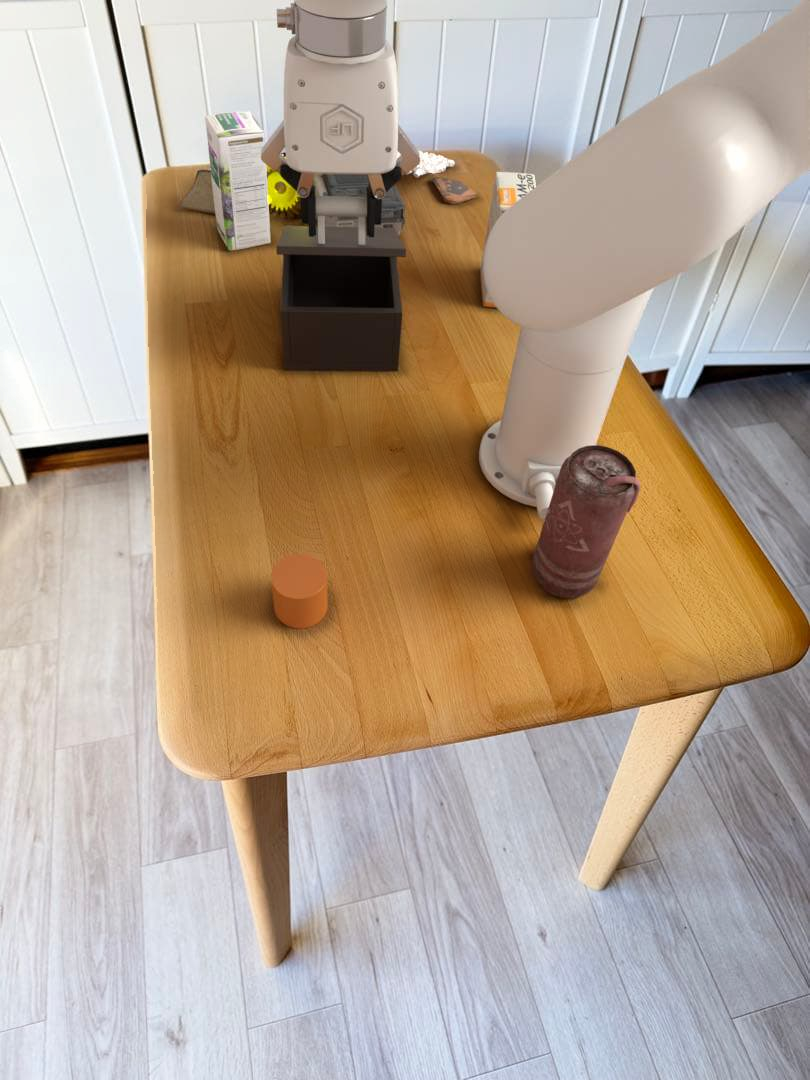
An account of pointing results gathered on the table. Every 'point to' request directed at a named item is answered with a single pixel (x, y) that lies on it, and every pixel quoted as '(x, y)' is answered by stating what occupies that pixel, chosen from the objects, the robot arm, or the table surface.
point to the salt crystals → (430, 164)
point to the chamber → (340, 313)
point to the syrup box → (238, 179)
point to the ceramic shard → (200, 194)
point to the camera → (357, 188)
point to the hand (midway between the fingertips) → (341, 227)
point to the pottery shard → (453, 190)
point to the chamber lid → (340, 233)
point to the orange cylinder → (299, 590)
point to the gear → (281, 195)
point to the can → (583, 519)
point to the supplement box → (504, 207)
